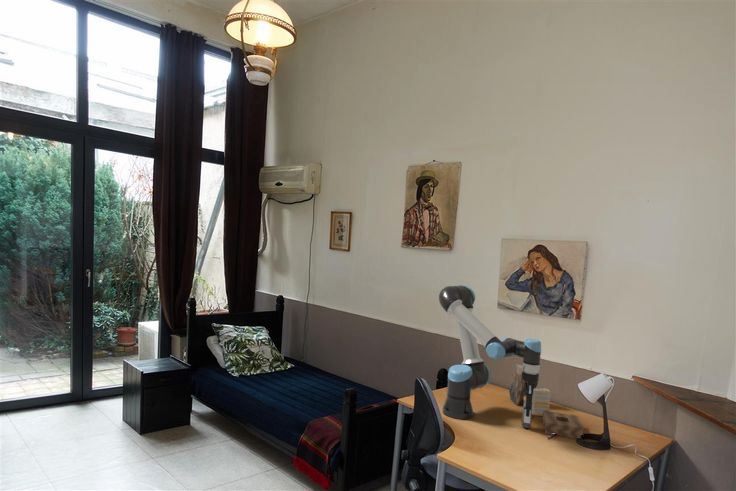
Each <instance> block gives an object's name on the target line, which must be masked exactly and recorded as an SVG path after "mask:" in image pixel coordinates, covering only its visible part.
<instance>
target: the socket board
mask: <svg viewBox="0 0 736 491" xmlns="http://www.w3.org/2000/svg"><path fill="white" fill-rule="evenodd" d="M542 424H543V428H544V433H545V434H549V435H552V434H551V433H556V434H557V435H556V436H561V437H567V438H571V439H577V437H578V436H579V435H583V436H584V426H583V424H582V422H581V420H580V417H579V415H573V414H569V413H568V414H567V413H561V412H556V411H555V412H554V411H550V410H549V411H543V416H542Z"/></svg>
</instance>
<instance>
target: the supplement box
mask: <svg viewBox="0 0 736 491" xmlns="http://www.w3.org/2000/svg"><path fill="white" fill-rule="evenodd" d="M532 397H533V404H532V416H537V417H538V416H539V417H543V411H550V402H551V391H550V390H549V388H544V387H543V388H541V387H536V388H534V390H533V395H532Z"/></svg>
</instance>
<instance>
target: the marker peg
mask: <svg viewBox="0 0 736 491" xmlns="http://www.w3.org/2000/svg"><path fill="white" fill-rule="evenodd" d="M532 404H533V397H532ZM525 406H526V396H524V404H523V406H522V417H521V418H522V419H521V427H522V428H525V429H529V428H531V426H532V416H533V415H532V409H531V416H530V423H524V413H525V409H524V407H525ZM531 408H532V406H531Z"/></svg>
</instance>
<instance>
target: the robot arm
mask: <svg viewBox="0 0 736 491" xmlns="http://www.w3.org/2000/svg"><path fill="white" fill-rule="evenodd" d="M438 302H439V304H440V306H441V308H443V310H444V311H445V312H446V313H447V314H448V315H452V316H453V317H454V318H455V320H456V324H457V329H458V330H457V331H458V335H459V342H460V346H461V351H462V352H461V353H462V356H463V357H462V358H463V361H462V362H461V364H455V365H451V366H450V367H449V368H448V373H447V387H446V388H447V390H446V398H445V400H444V402H443V405H442V413H443V415H445V416H447V417H450V418H453V419H456V420H458V419H459V420H468V419H471V418H472V417H473V416H474V410H473V405H472V401H471V395H472V394H471V393H472V392H471V391H474V390H476V389H482V388H483V387H485V386H487V385H488V384H489V383H490V381H491V375H492V374H491V370H490V368H489V366H487V365H486V363H485V361H484V360H485V359H482V357H481V356H480V351H479V345H478V342H479V343H480V344H481V345H482V346H483V347H484V348H485V349H486V350H485V351H486V355H487V356H488V357H489V358H490V359H492V360H499V359H503V358H507V357H511V356H515V357H519V358H522V366H523V367H522V370H523V372H522V379H523V380H524V381H526V383H525V396H526V406H525V407H524V409H525V413H524V423H530V416H531V409H532V408H531V406H532V395H533V390H534V384H533V383H534V382H535V383H536V382H539V381H540V380H539V378H540V375H539V373H540V369H541V368H542V367H541V366H540V363H541V354H542V342H541V341H540V340H539V339H536V338H525V339H524V341H522V340H519V339H515V338H512V337H502V339H499V337H497V336H496V335H495V334H494V333H493V332H492V330H490V329H489V328H488V327H487V326H486V325H485V324H484V323H483V322H481V320H480V319H479V318H478V317H477V316H476V315H474V313H472V312H473V311H474V306H473V305H474V304H475V302H476V293H475V292H474V290H473V289H472V288H471V287H470V286H467V285H447V286H445V287H443V288H442V289H441V290H440V292H439V294H438ZM531 417H532V416H531Z"/></svg>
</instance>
